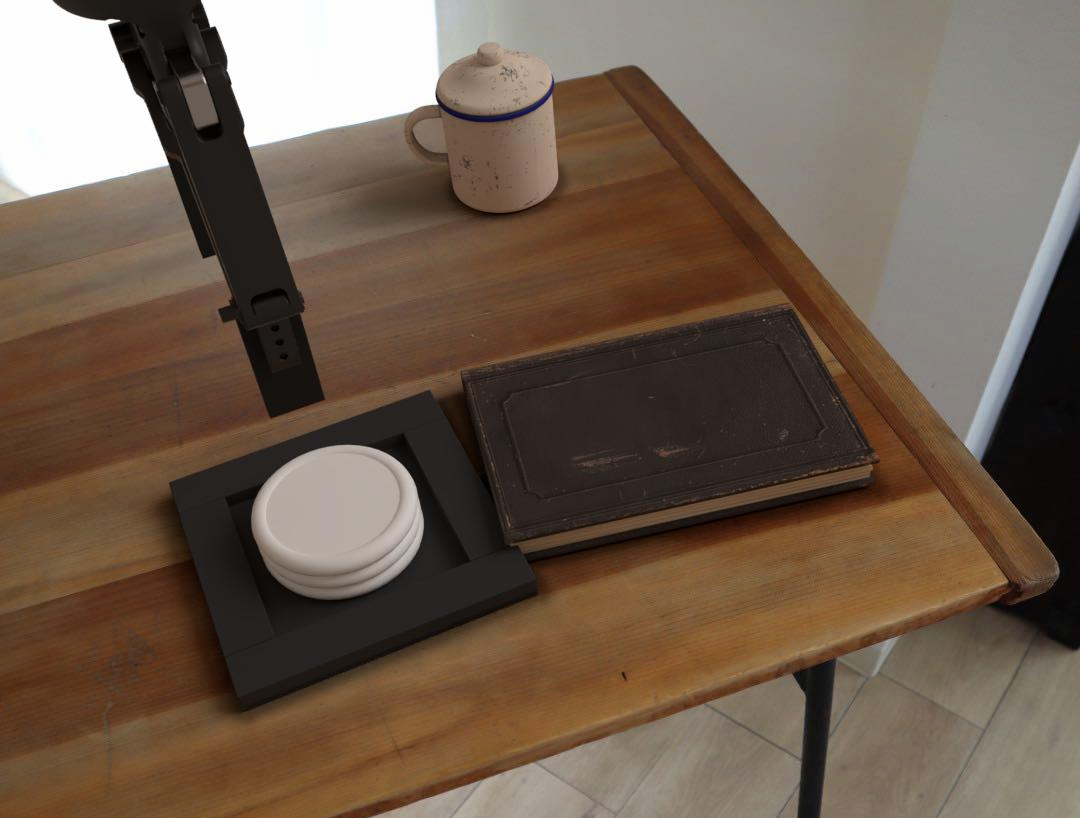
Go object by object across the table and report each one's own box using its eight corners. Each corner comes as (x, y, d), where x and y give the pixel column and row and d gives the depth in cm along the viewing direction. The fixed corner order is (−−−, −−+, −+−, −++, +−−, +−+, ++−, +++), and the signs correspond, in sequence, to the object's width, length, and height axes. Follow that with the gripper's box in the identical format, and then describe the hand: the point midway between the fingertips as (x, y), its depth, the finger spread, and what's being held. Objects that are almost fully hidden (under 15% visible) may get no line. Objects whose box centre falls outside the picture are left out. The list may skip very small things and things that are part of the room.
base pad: (175, 497, 77) (168, 481, 75) (433, 405, 80) (430, 388, 79) (244, 712, 66) (236, 697, 64) (539, 594, 69) (537, 578, 68)
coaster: (458, 530, 72) (450, 492, 69) (334, 632, 68) (321, 596, 65) (353, 455, 77) (341, 417, 74) (231, 546, 73) (215, 509, 70)
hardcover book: (874, 484, 72) (880, 458, 70) (509, 566, 70) (505, 541, 69) (784, 323, 82) (787, 297, 81) (463, 390, 81) (458, 365, 79)
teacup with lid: (559, 147, 99) (548, 11, 90) (564, 211, 93) (553, 73, 84) (417, 160, 99) (392, 26, 90) (413, 225, 93) (386, 88, 84)
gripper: (305, -14, 36) (410, 455, 53) (143, -248, 51) (264, 174, 68) (64, 51, 35) (249, 513, 51) (-31, -210, 50) (136, 213, 66)
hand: (258, 321), depth 60 cm, fingers open, 13 cm apart
